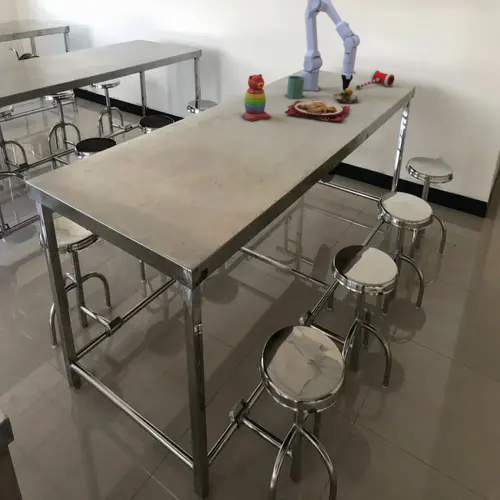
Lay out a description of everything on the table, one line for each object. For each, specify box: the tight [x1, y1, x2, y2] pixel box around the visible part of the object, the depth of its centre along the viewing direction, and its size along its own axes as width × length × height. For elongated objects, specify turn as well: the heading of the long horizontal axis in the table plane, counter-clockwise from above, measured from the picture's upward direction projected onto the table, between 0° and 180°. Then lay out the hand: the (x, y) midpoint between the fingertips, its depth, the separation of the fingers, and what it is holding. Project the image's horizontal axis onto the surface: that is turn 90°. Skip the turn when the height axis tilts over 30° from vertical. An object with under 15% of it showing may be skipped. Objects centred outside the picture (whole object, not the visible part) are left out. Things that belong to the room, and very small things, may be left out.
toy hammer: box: [355, 69, 395, 90], centre depth 261 cm, size 23×12×6 cm, turn 127°
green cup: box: [286, 75, 304, 100], centre depth 240 cm, size 8×8×9 cm
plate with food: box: [284, 99, 351, 123], centre depth 222 cm, size 24×26×4 cm
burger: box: [333, 87, 358, 104], centre depth 237 cm, size 12×12×8 cm
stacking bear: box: [243, 73, 270, 122], centre depth 209 cm, size 11×10×18 cm
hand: (345, 90), depth 244 cm, fingers closed
